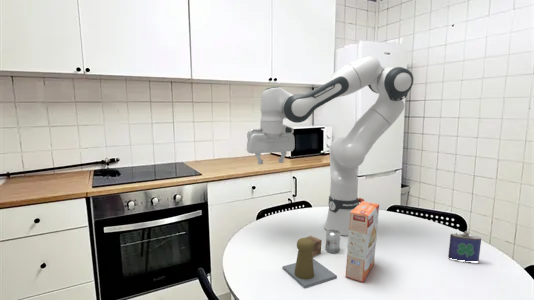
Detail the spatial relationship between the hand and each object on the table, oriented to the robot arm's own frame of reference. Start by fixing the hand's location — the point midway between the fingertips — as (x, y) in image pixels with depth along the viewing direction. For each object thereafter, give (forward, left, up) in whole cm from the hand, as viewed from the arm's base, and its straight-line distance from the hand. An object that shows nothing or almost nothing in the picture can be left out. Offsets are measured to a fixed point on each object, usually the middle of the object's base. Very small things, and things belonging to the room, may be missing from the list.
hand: (270, 163), depth 122 cm
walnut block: (-5, +22, -29) cm, 37 cm away
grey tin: (-13, +24, -29) cm, 40 cm away
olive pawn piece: (+6, +34, -28) cm, 45 cm away
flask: (-49, +50, -29) cm, 76 cm away
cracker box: (-12, +39, -29) cm, 50 cm away
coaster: (+4, +33, -29) cm, 44 cm away
